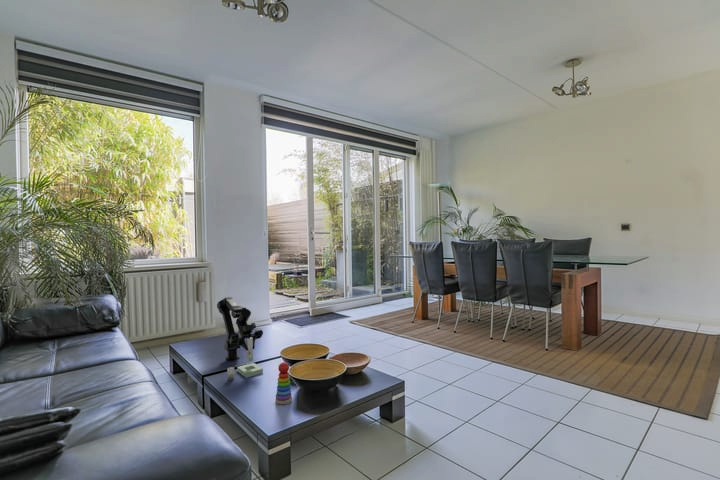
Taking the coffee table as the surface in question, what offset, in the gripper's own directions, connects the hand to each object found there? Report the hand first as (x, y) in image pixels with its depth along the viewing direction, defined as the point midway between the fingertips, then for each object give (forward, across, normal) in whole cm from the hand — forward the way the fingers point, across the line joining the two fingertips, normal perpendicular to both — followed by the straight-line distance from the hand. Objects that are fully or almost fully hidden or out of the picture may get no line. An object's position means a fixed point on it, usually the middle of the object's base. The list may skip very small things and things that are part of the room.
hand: (250, 349), depth 209 cm
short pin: (+10, -12, +9) cm, 18 cm away
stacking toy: (+40, -1, -21) cm, 45 cm away
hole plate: (+9, 0, +10) cm, 14 cm away
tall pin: (+4, 0, +6) cm, 7 cm away
